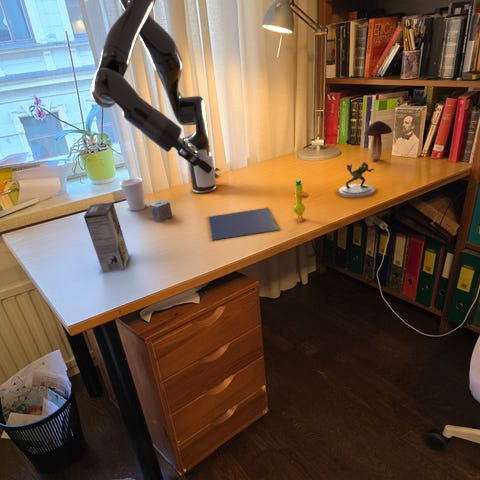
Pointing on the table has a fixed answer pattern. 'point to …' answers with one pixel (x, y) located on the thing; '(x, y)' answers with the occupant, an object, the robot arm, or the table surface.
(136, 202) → the dixie cup
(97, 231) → the coffee box
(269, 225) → the paper sheet
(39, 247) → the table surface
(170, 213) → the dice cube
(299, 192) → the toy figure
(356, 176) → the monster figurine
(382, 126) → the decorative mushroom
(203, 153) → the white vase
